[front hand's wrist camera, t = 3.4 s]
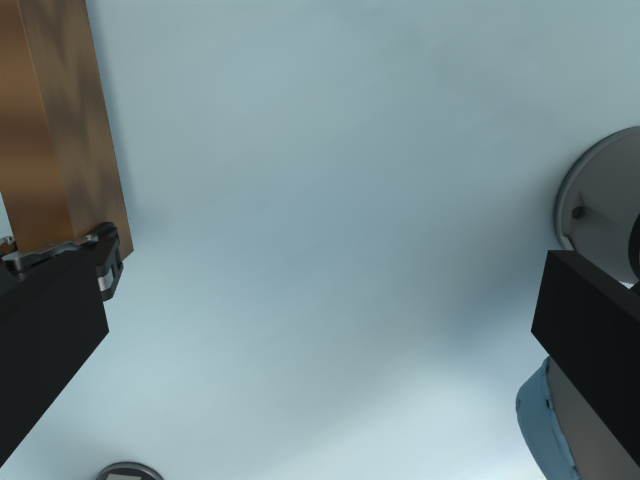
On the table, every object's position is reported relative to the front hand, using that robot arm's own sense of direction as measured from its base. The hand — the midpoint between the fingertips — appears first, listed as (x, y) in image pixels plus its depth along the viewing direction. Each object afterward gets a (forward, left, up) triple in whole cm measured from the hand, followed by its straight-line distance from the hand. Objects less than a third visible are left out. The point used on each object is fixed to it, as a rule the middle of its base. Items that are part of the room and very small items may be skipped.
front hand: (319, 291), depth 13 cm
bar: (+12, -17, -27) cm, 34 cm away
